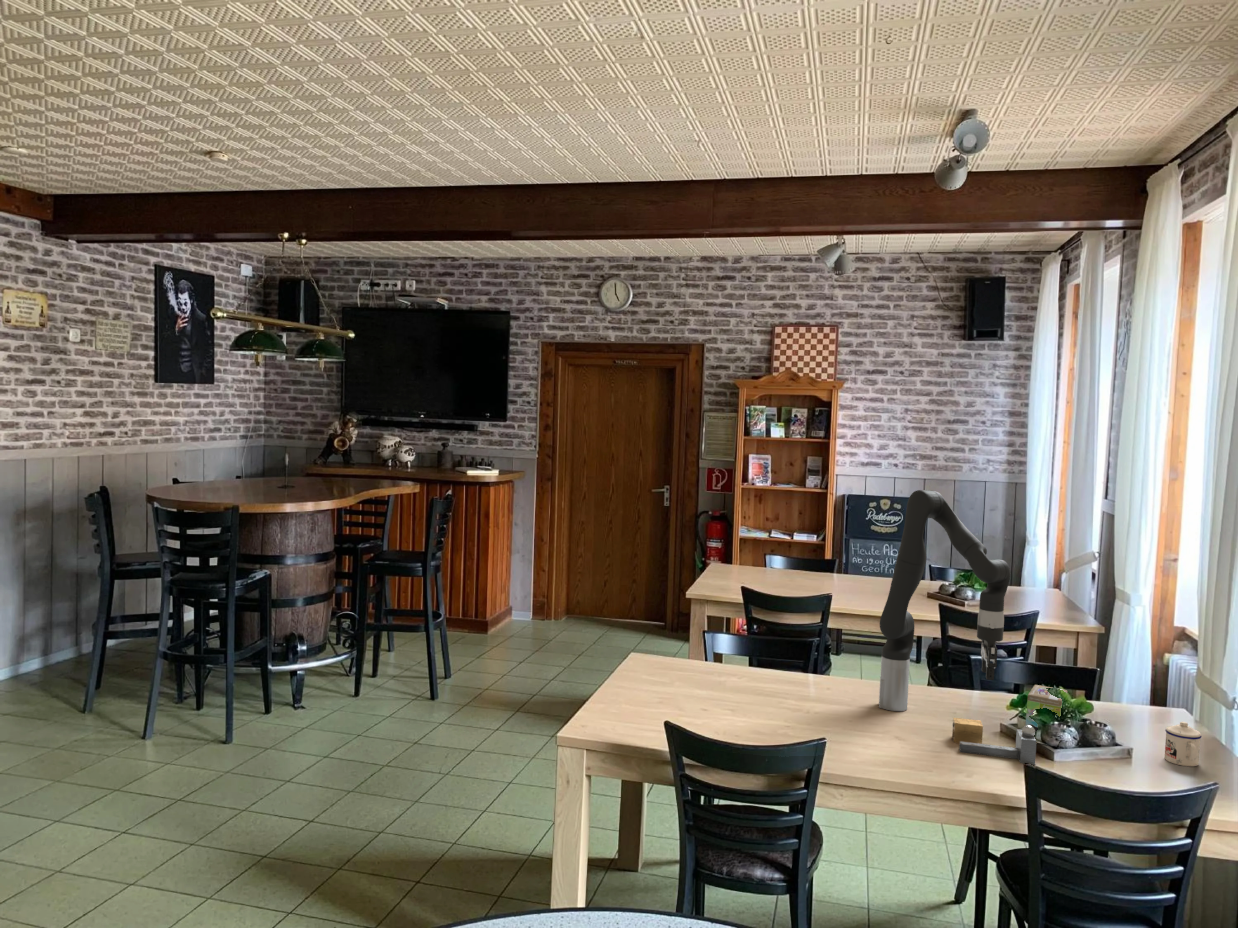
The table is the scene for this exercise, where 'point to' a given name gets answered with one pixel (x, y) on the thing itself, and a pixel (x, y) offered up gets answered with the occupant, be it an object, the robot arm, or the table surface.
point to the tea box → (1041, 703)
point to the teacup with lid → (1182, 745)
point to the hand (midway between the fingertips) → (987, 675)
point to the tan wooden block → (967, 730)
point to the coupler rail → (1022, 751)
